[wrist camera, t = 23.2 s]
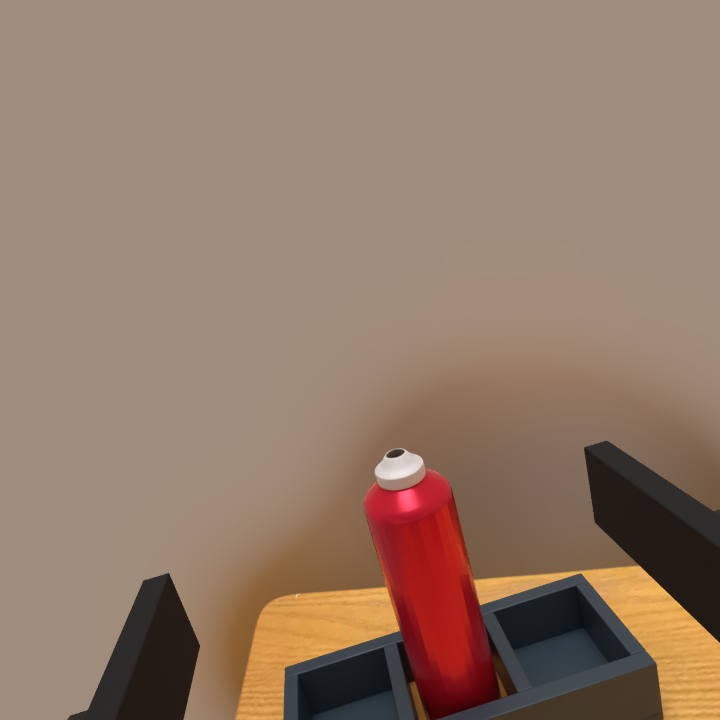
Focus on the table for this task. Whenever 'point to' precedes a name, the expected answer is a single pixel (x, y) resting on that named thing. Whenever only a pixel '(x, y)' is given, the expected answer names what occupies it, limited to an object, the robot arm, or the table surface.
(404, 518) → the bottle
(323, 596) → the table surface
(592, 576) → the table surface
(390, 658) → the rack
